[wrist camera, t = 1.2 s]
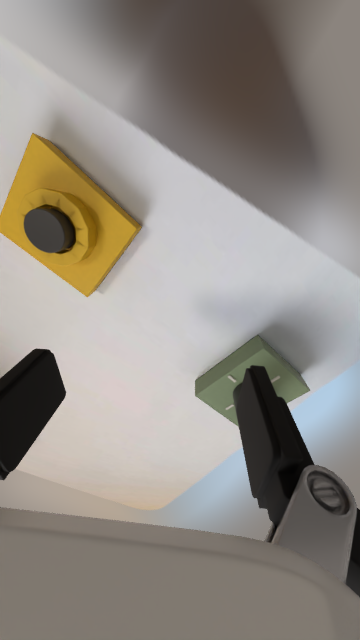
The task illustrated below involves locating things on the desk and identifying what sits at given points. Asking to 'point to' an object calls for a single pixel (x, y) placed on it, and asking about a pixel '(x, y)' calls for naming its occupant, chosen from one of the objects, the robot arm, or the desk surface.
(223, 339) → the desk surface
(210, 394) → the dial panel
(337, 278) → the desk surface
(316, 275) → the desk surface
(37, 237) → the cylinder
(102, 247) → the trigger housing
